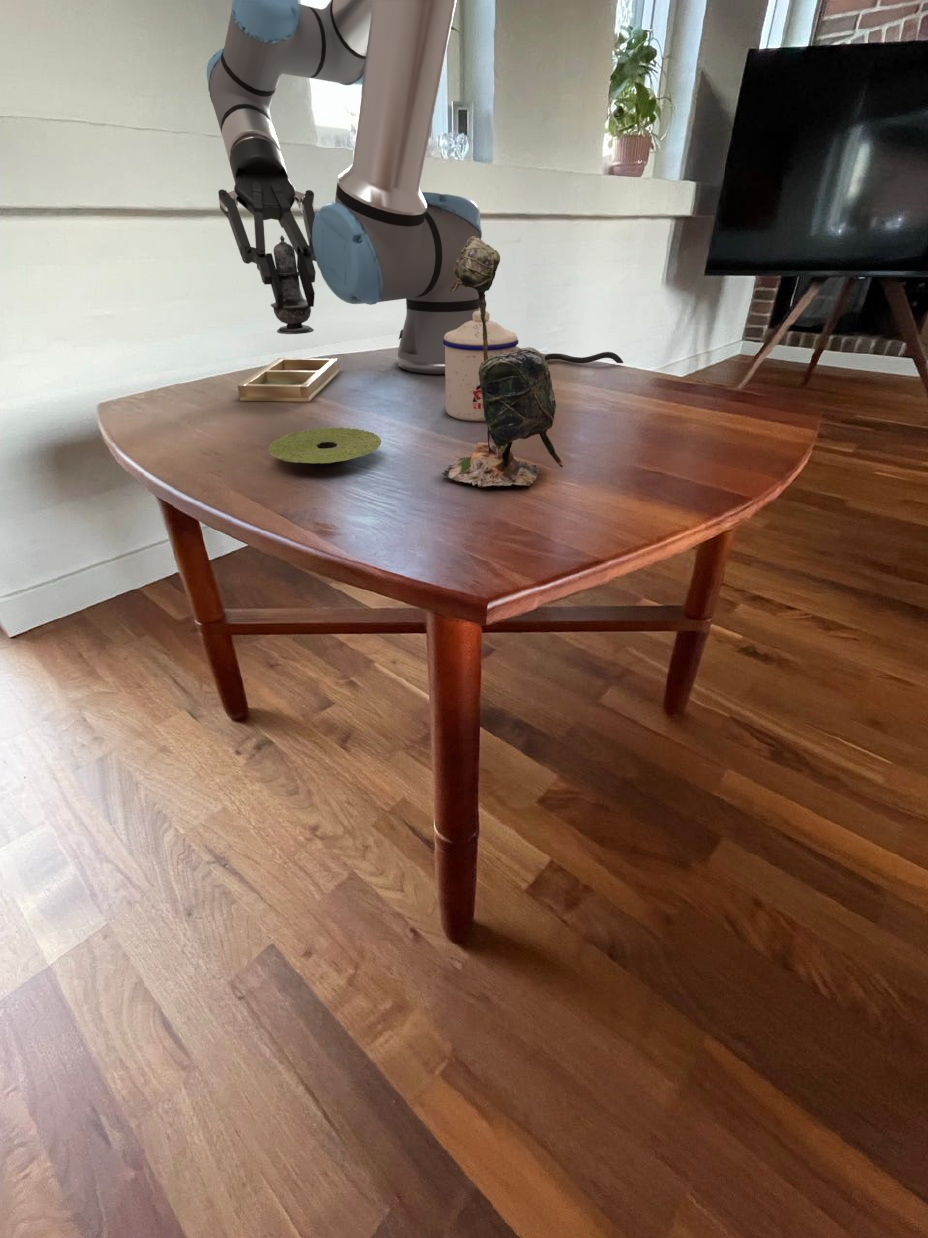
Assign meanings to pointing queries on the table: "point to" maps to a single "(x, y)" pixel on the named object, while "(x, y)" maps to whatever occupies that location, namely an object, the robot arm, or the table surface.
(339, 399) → the table surface
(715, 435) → the table surface
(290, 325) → the salt shaker
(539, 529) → the table surface
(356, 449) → the mat
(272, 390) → the wooden divided tray
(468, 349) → the teacup with lid
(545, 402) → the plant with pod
